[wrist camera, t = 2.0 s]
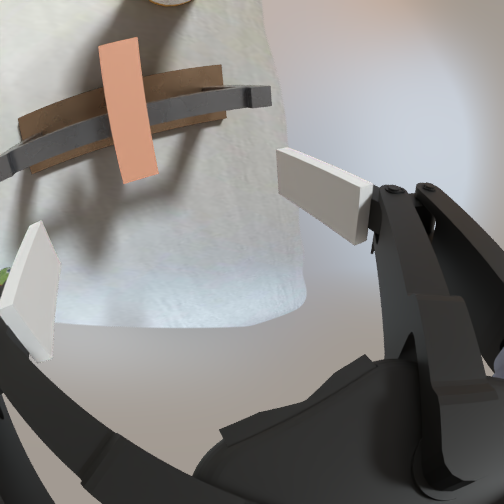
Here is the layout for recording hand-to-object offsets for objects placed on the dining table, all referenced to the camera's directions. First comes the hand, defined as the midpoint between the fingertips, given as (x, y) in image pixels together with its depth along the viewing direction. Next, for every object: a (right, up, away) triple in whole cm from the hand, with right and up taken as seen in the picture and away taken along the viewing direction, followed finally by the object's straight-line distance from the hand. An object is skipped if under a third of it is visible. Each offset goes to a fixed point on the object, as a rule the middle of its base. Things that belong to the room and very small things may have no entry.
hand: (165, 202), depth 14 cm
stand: (-13, +16, +18) cm, 27 cm away
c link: (-10, +14, +14) cm, 22 cm away
